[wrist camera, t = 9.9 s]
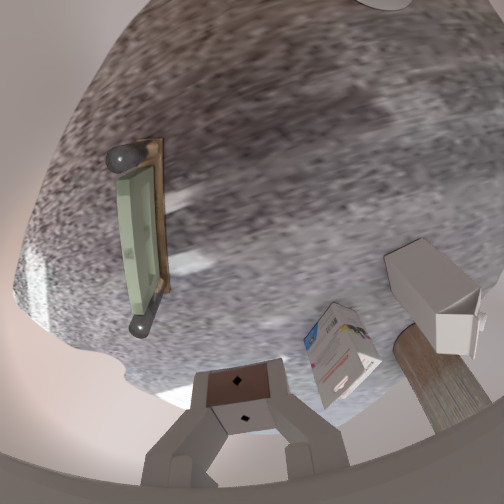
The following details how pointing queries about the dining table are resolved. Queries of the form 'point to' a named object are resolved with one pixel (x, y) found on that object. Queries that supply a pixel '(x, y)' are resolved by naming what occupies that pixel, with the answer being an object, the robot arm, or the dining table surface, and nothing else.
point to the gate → (138, 235)
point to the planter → (439, 380)
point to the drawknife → (153, 155)
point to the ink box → (340, 353)
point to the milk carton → (437, 297)
